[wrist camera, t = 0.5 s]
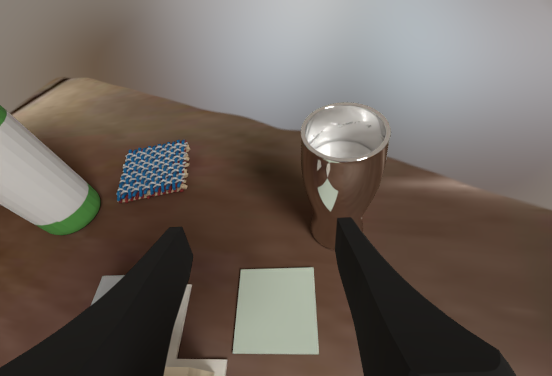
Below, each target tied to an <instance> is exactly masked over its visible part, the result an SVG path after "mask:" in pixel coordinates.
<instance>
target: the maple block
mask: <svg viewBox="0 0 552 376" xmlns="http://www.w3.org/2000/svg"><path fill="white" fill-rule="evenodd" d="M164 376H214V372H210V371H205V370H200V369H195V368H190V367H165V371H164Z"/></svg>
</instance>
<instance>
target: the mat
mask: <svg viewBox="0 0 552 376" xmlns="http://www.w3.org/2000/svg"><path fill="white" fill-rule="evenodd" d="M233 354H319V348H318V332H317V316H316V301H315V285H314V270H313V267H310V268H276V269H242V270H241V274H240V284H239V294H238V304H237V314H236V324H235V334H234V344H233Z"/></svg>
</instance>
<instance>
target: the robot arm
mask: <svg viewBox="0 0 552 376" xmlns="http://www.w3.org/2000/svg"><path fill="white" fill-rule="evenodd" d="M335 253H336V259H337V264H338V269H339V273H340V276H341V280H342V283H343V287H344V290H345V293H346V297H347V300H348V304H349V307H350V310H351V314H352V318H353V322H354V326H355V331H356V336H357V341H358V346H359V351H360V357H361V362H362V368H363V373H364V376H516V374H515V373H514V371H513V370H512V368H511V367H510V365H509V364H508V362H507V361H506V360H505V358H504V357H503V356H502V354H501V353H500V351H499V350H497V349H496V348H494V347H493V346H491V345H490V344H488V343H487V342H485V341H484V340H482V339H481V338H479V337H477V336H476V335H474V334H473V333H471V332H470V331H468V330H467V329H465V328H464V327H462V326H461V325H460V324H458V323H457V322H455V321H454V320H453V319H451V318H450V317H448V316H447V315H446V314H445V313H443V312H442V311H441V310H440V309H438V308H437V307H436V306H435V305H433V304H432V303H431V302H429V301H428V300H427V299H426V298H424V297H423V296H422V295H421V294H420V293H419V292H418V291H416V290H415V289H414V288H413V287H412V286H411V285H410V284H409V283H408V282H407V281H405V280H404V279H403V278H402V277H401V276H400V275H399V274H398V273H397V272H396V271H395V270H394V269H393V268H392V267H391V266H390V264H389V263H388V262H387V261H386V260H385V259H384V258H383V257H382V256H381V255H380V253H379V252H378V251H377V250H376V249H375V247H374V246H373V245H372V244H371V243H370V241H369V240H368V239H367V238H366V236H365V235H364V234H363V232H362V231H361V230H360V228H359V227H358V226H357V224H356V223H355V221H354V220H353V219H352V218H351V217H344V218H337V227H336V239H335ZM192 261H193V254H192V251H191V248H190V246H189V243H188V241H187V238H186V235H185V233H184V230H183V228H182V227H169V228H168V230H167V231H166V232H165V233H164V234H163V235H162V236H161V237H160V238H159V239H158V241H157V242H156V243H155V244H154V245H153V246H152V247H151V248H150V249H149V251H148V252H147V253H146V254H145V255H144V256H143V257H142V258H141V259H140V260H139V261H138V262H137V264H136V265H135V266H134V267H133V268H132V269H131V270H130V271H129V272H128V273H127V274H126V275H125V276H124V277H123V278H122V279H121V280H120V281H119V282H117V283H116V284H115V285H114V286H113V287H112V288H111V289H110V290H109V291H108V292H106V293H105V294H104V295H103V296H102V297H101V298H100V299H98V300H97V301H96V302H95V303H94V304H92V305H91V306H90V307H89V308H87V309H86V310H85V311H83V312H82V313H81V314H80V315H78V316H77V317H76V318H74V319H73V320H72V321H70V322H69V323H68V324H66V325H65V326H64V327H62V328H61V329H59V330H58V331H57V332H55V333H54V334H52V335H51V336H49V337H48V338H46V339H45V340H43V341H42V342H40V343H39V344H37V345H36V346H34V347H33V348H31V349H30V350H28V351H26V352H25V353H23V354H22V355H20V356H18V357H17V358H15V359H14V360H12V361H10V362H9V363H7V364H6V365H4V366H2V367H1V368H0V376H164V371H165V366H166V360H167V355H168V350H169V346H170V341H171V336H172V332H173V328H174V325H175V321H176V318H177V315H178V312H179V309H180V305H181V302H182V299H183V296H184V293H185V290H186V287H187V283H188V280H189V277H190V272H191V267H192Z"/></svg>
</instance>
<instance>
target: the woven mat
mask: <svg viewBox="0 0 552 376" xmlns="http://www.w3.org/2000/svg"><path fill="white" fill-rule="evenodd" d="M186 144H188V143H187V142H186V140H182V142H180V140H177V143H175V142H173V143H170V142H167V145H166V144H163V145H161V144H158V146H153V147H152V148H151V146H148V148H144V149H141V148H138V151H137V149H136V150H134V151H132V150H129V154H128V155H126V158H127V159H126V160H125V162H126V161H127V162H126V163H125V165H124V164H123V166H125V167H123V172H124V173H123V174H122V175H121V181H120V182H121V183H120V182H119V183H120V184H119V189H118V190H117V193H116V194H117V202H119V203H122V202H125V203H128V201H133V200H138V199H143V198H147V199H148V198H150V197H151V196H152V197H153V196H157V195H158V196H160V195H162V194H167V193H172V192H177V191H180V192H183V191H184V189H187V185H185V184H184V183H186V180H184V178H186V177H187V176H188V173H187V169H184V167H188V166H189V163H186V161H189V157H188V154H187V153H186V152H188V151H189V150H190V148H189V144H188V145H186ZM185 163H186V164H185ZM137 167H138V168H137ZM168 176H169V177H168ZM124 183H125V184H124ZM131 190H132V191H131ZM125 196H126V197H125Z"/></svg>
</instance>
